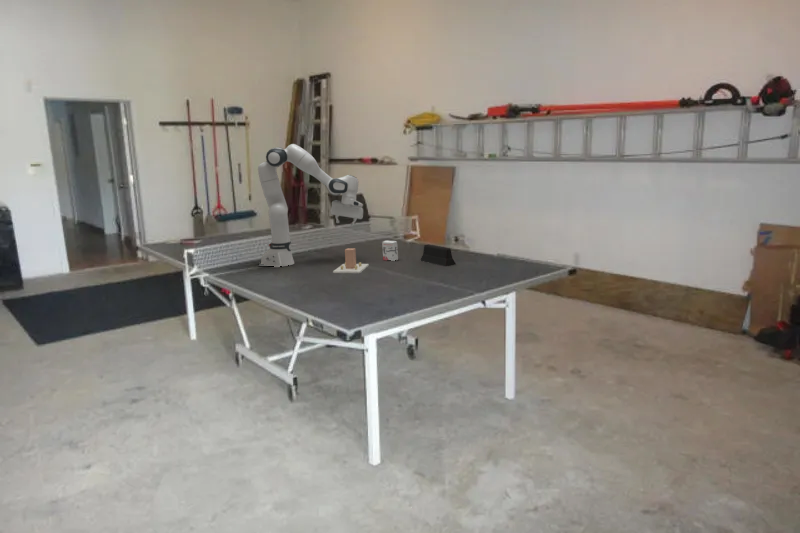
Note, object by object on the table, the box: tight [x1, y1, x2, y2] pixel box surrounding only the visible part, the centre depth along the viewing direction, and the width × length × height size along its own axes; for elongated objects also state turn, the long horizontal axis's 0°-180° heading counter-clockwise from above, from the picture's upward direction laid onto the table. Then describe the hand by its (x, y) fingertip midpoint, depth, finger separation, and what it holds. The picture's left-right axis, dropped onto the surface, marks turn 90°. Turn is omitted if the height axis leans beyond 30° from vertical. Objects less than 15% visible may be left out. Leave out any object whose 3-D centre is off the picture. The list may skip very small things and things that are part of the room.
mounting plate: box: [332, 262, 370, 274], centre depth 334 cm, size 16×20×3 cm
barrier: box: [420, 244, 456, 267], centre depth 343 cm, size 24×9×10 cm, turn 38°
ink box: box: [381, 240, 399, 262], centre depth 355 cm, size 9×5×12 cm, turn 62°
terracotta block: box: [344, 247, 357, 269], centre depth 333 cm, size 5×5×11 cm
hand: (344, 224), depth 349 cm, fingers open, 8 cm apart
